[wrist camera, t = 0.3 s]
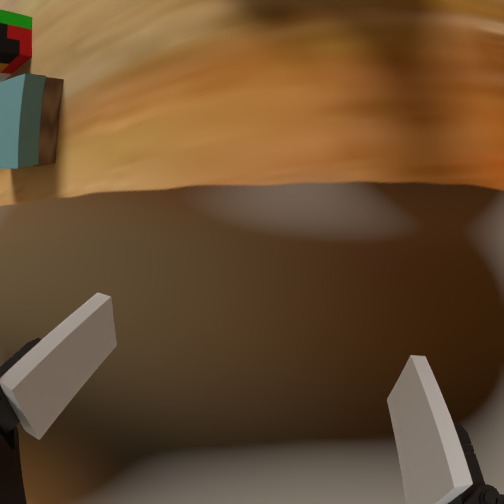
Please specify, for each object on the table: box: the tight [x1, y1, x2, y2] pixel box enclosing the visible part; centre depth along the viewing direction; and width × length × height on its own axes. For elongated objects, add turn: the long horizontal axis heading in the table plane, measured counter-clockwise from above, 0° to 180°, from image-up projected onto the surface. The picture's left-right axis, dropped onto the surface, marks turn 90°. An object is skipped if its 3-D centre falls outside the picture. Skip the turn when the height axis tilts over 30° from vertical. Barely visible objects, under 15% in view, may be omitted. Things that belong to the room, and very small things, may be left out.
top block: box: [0, 73, 46, 169], centre depth 33 cm, size 14×14×4 cm
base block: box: [33, 77, 63, 166], centre depth 37 cm, size 14×14×4 cm
